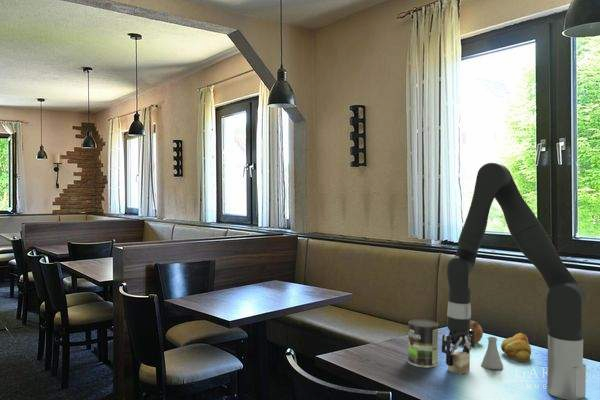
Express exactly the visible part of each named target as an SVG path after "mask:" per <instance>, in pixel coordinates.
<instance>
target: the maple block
mask: <svg viewBox="0 0 600 400" xmlns="http://www.w3.org/2000/svg"><path fill="white" fill-rule="evenodd" d="M470 354H471V353H470ZM470 354H469V353H466V352H463V350H459V349H456V350H455V351H454V353H453V366H449V365H447V371H450V372H453V373H455V374H457V373H458V374H457V375H460V374H461V375H463V374H462V373H464V374H466V372H467V373H469V372H470V371H471V370H470V369H471V368H470V365H471V363H470V362H471V361H470V360H471V355H470Z"/></svg>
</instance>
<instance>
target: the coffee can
mask: <svg viewBox="0 0 600 400" xmlns="http://www.w3.org/2000/svg"><path fill="white" fill-rule="evenodd" d="M407 322H408V323H407V324H408V334H407V335H408V336H407V337H408V338H407V339H408V341H407V342H408V345H407V350H408V351H407V362H408V364H409V365H411V366H414V367H417V368H422V369H423V368H425V369H428V368H429V369H430V368H435V367H437V366H438V351H439V350H438V348H439V347H438V346H439V342H438V341H439V340H438V339H439V323H438V322H437V321H434V320H431V319H423V318H421V319H420V318H415V319H410V320H409V321H407Z"/></svg>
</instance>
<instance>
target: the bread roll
mask: <svg viewBox="0 0 600 400" xmlns="http://www.w3.org/2000/svg"><path fill="white" fill-rule="evenodd" d="M528 338H529V337H527V335H526V334H525V333H523V332H519V333H516V334H515V335H513V336H512V337H508V338H506V339H503V340H502V342H501V345H500V348H501V349H500V350H501V351H502V352H503V353H504V355H506V356H507V358H510V359H513V360H516V361H517V362H528V361H530V358H531V354H532V347H531V345H530V343H529V339H528Z"/></svg>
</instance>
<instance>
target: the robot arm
mask: <svg viewBox="0 0 600 400" xmlns="http://www.w3.org/2000/svg"><path fill="white" fill-rule="evenodd" d="M473 190H474V191H473V195H472V199H471V201H470V206H469V210H468V213H467V216H466V218H465V221H464V223H463V226H462V229H461V231H460V234H459V237H458V240H457V245H458V247H457V250H456V253H455V255H454V257H452V258H450V260H448V263H447V266H446V267H447V268H446V269H447V270H446V272H447V273H446V275H447V282H448V302H447V313H446V314H447V315H446V316H447V317H446V318H447V320H446V321H447V322H446V327H447V329H448V330H449V332H448V334H442V339H441V340H442V341H441V353H443V354H445V364H446V366H448V365H449V366H453V353H454V351H455V350H458V347H461V346H462V351H463V352H466V353H469V354H471V353H470V352H471V349H472V348H474V347H475V344H474V330H470V329H471V321H472V320H471V319H472V305H471V295H472V292H471V287H470V285H469V274H470V273H472V271H473V269H474V266H475V263H476V259H477V257H478V251H479V248H480V247H481V244H482V243H483V242H482V241H483V239H484V236H485V234H486V230H487V226H488V221H489V216H490V215H489V214H490V209H491V208H492V204H493V201H494V199H495V201H496V202H497V203H498V205H499V207H500V208H501V210H502V213H503V216H504V217H503V218H504V219H505V220H504V221H505V223H506V226H507V230H508V231H509V233H510V235H511V238H512V239H513V240H514V242H515V244H516V246H517V247H518V249H519V251H520V252H521V254H523V255H524V257H525V258H526V259H527V260H528V261H529V262H530V263H531V265H533V267H534V268H536V269H537V271H538V272H539V273H540V275H541V276H542V278H543V279H544V282H545V284H546V286H547V287H548V292H547V294H546V303H545V305H546V309H545V310H546V311H545V312H546V327H547V383H546V386H547V387H546V389H547V390H546V391H547V393H548V394H549V395H551V396H553V397H556V398H558V399H563V400H581V399H583V398H586V388H587V387H586V380H587V377H586V376H587V366H586V365H587V364H585V363H584V360H583V359H584V356H583V355H584V329H583V322H582V320H583V316H582V314H583V313H582V312H583V307H584V306H585V303H586V294H585V291H584V289H583V287H582V286H581V285H580V284H579V282H578V281H577V280H576V278H574V276H573V275H572V273H571V272H570V270H568V268H567V267H566V266H565V264H564V262H563V260H562V259H561V257H560V255H559V252H558V250H557V248H556V247H555V246H554V244H553V243H552V240H551V239H550V237H549V235H548V233H547V232H546V230H545V228H544V226H543V225H542V223H541V222H540V221H539V218H538V217H537V216H536V214H535V213H534V211H533V210H532V208H531V207H530V206H529V205H528V203H527V202H526V201H525V199H524V198H523V196H522V194H521V192H520V191H519V189H518V186H517V185H516V183H515V180H514V177H513V176H512V173H511V172H510V170H509V169H508V168H507V167H506V166H505V165H503V164H501V163H497V162H486V163H485V164H483V165H482V166H480V168H479V169H478V171H477V174H476V179H475V183H474V189H473ZM469 340H471V343H469Z"/></svg>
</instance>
